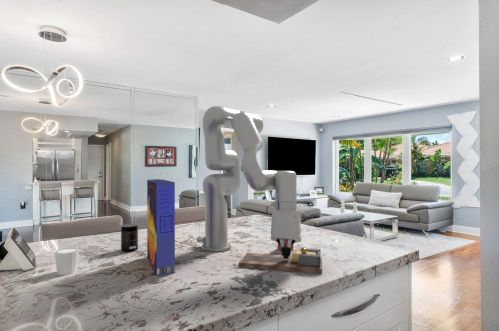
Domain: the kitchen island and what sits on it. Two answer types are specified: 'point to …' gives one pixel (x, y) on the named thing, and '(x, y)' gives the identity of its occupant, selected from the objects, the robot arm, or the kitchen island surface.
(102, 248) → the kitchen island surface
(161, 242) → the cereal box
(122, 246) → the supplement container
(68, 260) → the white cup
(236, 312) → the kitchen island surface
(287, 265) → the door panel
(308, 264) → the keeper
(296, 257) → the bolt
